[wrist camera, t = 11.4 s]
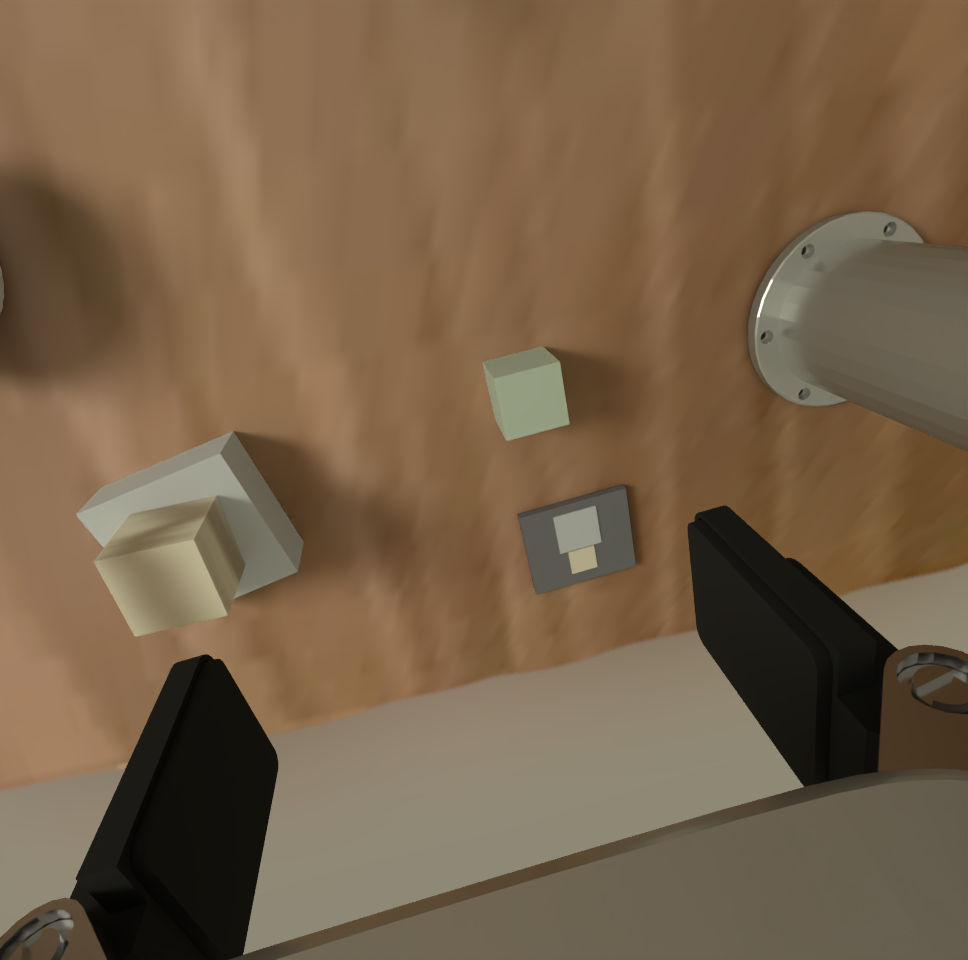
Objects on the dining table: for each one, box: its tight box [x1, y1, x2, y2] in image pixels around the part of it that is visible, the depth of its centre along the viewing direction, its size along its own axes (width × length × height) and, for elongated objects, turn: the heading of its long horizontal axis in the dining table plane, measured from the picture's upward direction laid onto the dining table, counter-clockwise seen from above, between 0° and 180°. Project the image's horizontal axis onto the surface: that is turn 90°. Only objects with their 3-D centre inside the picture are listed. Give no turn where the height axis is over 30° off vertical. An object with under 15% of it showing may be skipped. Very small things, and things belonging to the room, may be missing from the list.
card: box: [517, 484, 636, 594], centre depth 44 cm, size 8×7×1 cm
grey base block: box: [76, 431, 304, 599], centre depth 38 cm, size 9×9×4 cm
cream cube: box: [94, 496, 245, 637], centre depth 34 cm, size 5×5×5 cm
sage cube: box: [483, 346, 569, 441], centre depth 37 cm, size 4×4×4 cm
